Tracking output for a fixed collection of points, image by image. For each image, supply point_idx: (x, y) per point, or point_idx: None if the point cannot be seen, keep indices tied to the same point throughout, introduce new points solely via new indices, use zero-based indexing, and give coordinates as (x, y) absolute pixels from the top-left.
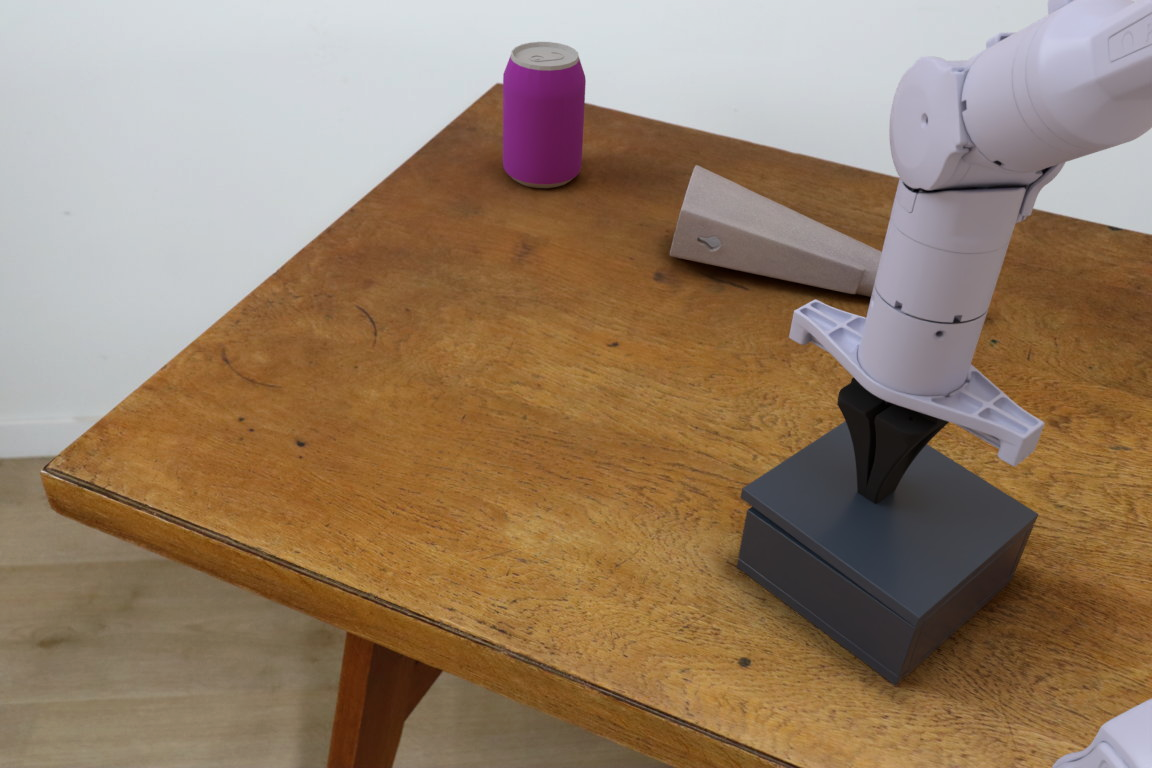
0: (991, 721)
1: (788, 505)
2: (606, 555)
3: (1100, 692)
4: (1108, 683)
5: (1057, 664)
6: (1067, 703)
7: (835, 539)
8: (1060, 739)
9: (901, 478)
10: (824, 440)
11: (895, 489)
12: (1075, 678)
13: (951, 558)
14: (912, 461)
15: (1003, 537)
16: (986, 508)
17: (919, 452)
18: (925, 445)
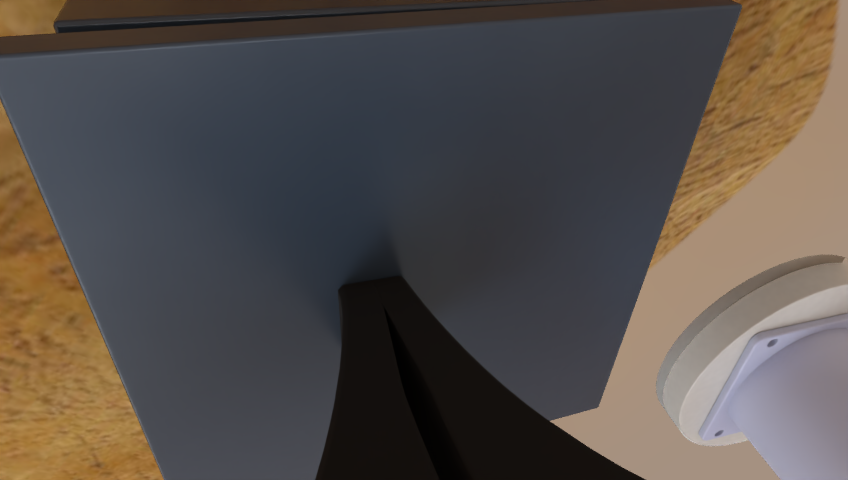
0: None
1: (281, 473)
2: (67, 470)
3: (775, 57)
4: (787, 28)
5: None
6: (730, 118)
7: None
8: (727, 176)
9: (419, 298)
10: (118, 319)
11: (405, 280)
12: (738, 65)
13: (598, 300)
14: (452, 336)
15: (674, 163)
16: (614, 122)
17: (478, 362)
18: (502, 384)
